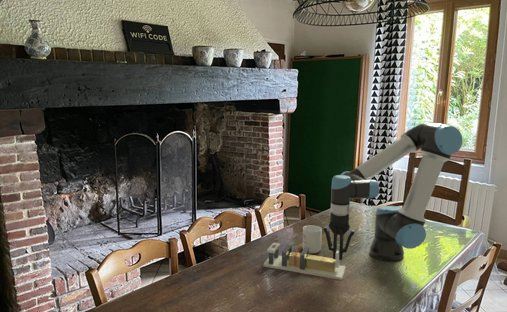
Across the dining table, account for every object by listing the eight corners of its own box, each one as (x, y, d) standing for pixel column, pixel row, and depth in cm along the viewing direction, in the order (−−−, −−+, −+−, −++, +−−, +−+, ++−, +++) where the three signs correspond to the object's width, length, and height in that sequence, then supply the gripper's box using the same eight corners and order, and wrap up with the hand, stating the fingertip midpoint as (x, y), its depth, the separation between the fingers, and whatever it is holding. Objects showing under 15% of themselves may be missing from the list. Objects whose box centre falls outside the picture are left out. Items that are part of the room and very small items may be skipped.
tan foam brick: (336, 267, 168) (336, 258, 167) (334, 272, 164) (334, 262, 163) (291, 260, 175) (291, 251, 174) (288, 264, 171) (288, 255, 170)
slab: (345, 268, 170) (345, 266, 169) (341, 280, 160) (342, 277, 159) (271, 256, 182) (271, 254, 181) (263, 266, 171) (263, 264, 171)
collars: (308, 261, 174) (309, 247, 173) (304, 269, 166) (304, 255, 165) (273, 255, 180) (273, 242, 179) (267, 263, 172) (267, 249, 171)
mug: (324, 252, 186) (325, 230, 184) (308, 255, 182) (309, 233, 180) (311, 243, 197) (311, 222, 195) (295, 246, 193) (296, 224, 191)
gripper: (356, 212, 162) (354, 265, 166) (325, 208, 166) (323, 260, 171) (355, 217, 155) (352, 272, 159) (322, 213, 160) (320, 267, 164)
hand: (337, 266), depth 165 cm, fingers closed
